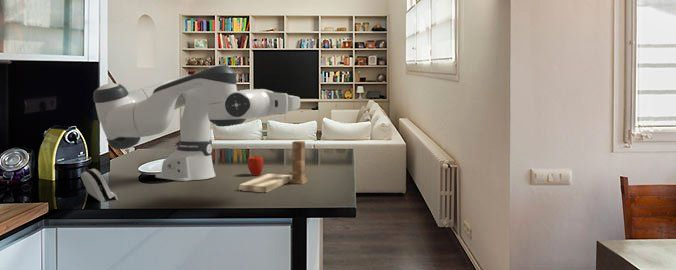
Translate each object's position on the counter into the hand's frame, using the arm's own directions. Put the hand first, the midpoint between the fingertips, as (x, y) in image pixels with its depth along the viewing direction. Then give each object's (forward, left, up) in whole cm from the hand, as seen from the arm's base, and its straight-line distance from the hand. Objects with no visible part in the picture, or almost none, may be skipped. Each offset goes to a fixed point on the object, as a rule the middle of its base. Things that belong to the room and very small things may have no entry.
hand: (278, 101), depth 173 cm
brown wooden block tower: (+3, +12, -30) cm, 32 cm away
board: (-6, +3, -30) cm, 31 cm away
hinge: (-48, -31, -30) cm, 65 cm away
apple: (-19, +20, -30) cm, 41 cm away
